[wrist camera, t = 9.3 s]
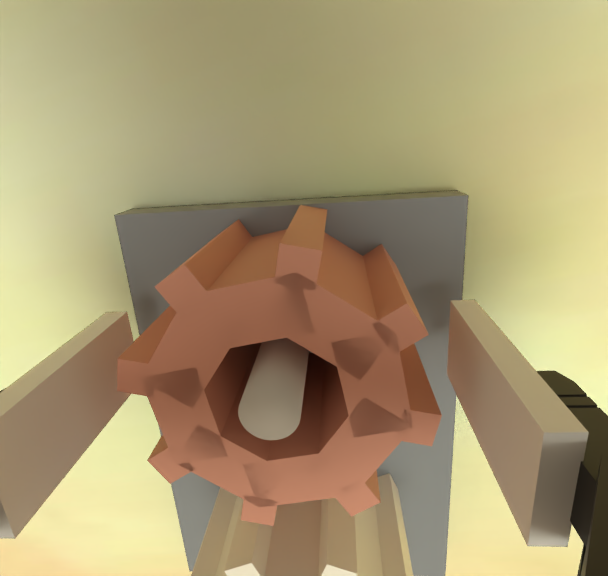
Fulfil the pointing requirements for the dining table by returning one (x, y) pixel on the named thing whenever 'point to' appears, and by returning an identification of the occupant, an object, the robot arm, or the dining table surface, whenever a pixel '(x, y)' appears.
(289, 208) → the gear board
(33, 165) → the dining table surface
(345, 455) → the gear
